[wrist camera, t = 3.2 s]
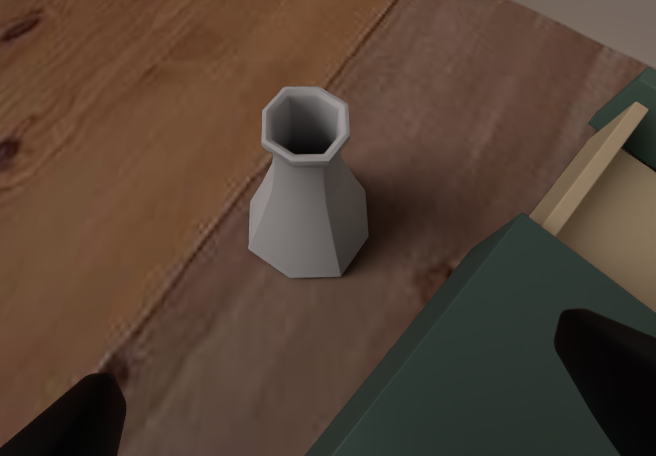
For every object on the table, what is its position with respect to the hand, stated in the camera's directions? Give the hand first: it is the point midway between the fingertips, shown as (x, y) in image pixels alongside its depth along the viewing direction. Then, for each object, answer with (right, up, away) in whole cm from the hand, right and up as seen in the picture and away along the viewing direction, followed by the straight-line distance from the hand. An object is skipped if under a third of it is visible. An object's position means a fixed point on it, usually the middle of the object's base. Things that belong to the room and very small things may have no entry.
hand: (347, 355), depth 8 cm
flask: (-2, +3, +15) cm, 16 cm away
